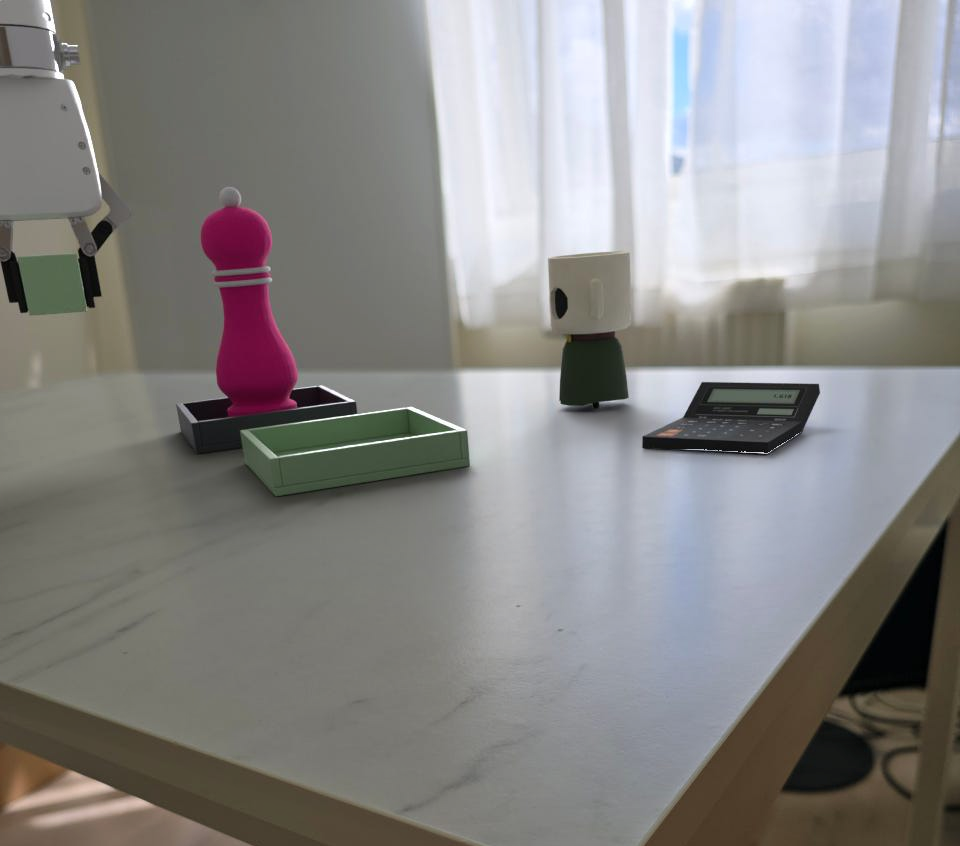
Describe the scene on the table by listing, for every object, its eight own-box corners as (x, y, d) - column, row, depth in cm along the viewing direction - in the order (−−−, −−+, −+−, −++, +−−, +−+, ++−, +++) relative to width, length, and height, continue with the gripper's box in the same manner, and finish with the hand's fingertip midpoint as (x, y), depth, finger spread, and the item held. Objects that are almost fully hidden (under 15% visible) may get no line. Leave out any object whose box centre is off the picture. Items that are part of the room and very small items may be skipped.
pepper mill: (244, 418, 98) (208, 191, 90) (315, 415, 96) (284, 184, 89) (211, 433, 91) (169, 189, 84) (286, 430, 90) (250, 182, 82)
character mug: (550, 400, 98) (543, 256, 93) (624, 394, 98) (621, 249, 93) (559, 420, 88) (552, 259, 83) (642, 413, 88) (639, 252, 83)
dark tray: (196, 454, 86) (191, 423, 85) (180, 431, 97) (175, 403, 96) (359, 430, 90) (356, 401, 89) (325, 411, 102) (322, 385, 101)
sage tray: (275, 496, 69) (269, 458, 68) (245, 462, 81) (239, 430, 80) (470, 465, 74) (467, 430, 73) (415, 438, 85) (412, 406, 84)
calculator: (642, 448, 75) (641, 406, 74) (703, 418, 84) (703, 381, 83) (767, 454, 70) (768, 410, 69) (818, 422, 79) (820, 382, 78)
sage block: (29, 315, 83) (17, 256, 81) (30, 312, 87) (19, 256, 85) (87, 311, 84) (76, 253, 83) (86, 308, 88) (76, 253, 87)
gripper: (121, 69, 85) (158, 300, 92) (-106, 69, 79) (-48, 315, 86) (126, 54, 78) (165, 304, 85) (-121, 53, 73) (-57, 320, 80)
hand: (57, 307), depth 86 cm, fingers closed on sage block, 4 cm apart
